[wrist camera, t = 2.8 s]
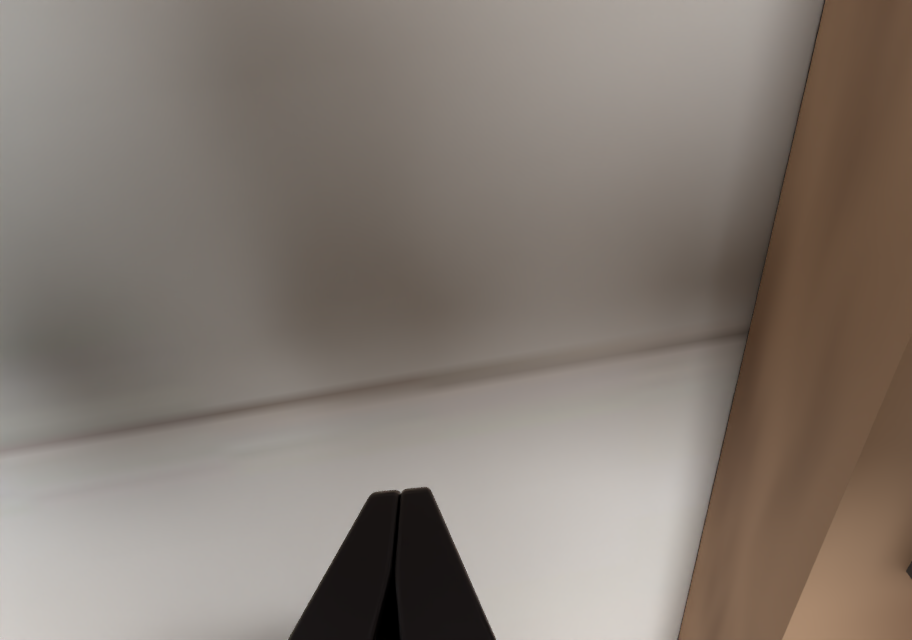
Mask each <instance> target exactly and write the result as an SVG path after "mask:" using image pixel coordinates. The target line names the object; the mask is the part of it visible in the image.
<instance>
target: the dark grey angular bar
mask: <svg viewBox="0 0 912 640" xmlns="http://www.w3.org/2000/svg"><path fill="white" fill-rule="evenodd" d="M906 572H907V574H908V575H909V576H910V578H911V579H912V561H911V563H910V565H909V567H908V568H907V570H906Z"/></svg>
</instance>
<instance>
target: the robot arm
mask: <svg viewBox="0 0 912 640" xmlns="http://www.w3.org/2000/svg"><path fill="white" fill-rule="evenodd" d="M288 640H496V638H495V636H494V634H493V631H492V629H491V627H490V625H489V622H488V620H487V618H486V615H485V613H484V611H483V608H482V606H481V604H480V602H479V599H478V597H477V595H476V592H475V590H474V588H473V586H472V583H471V581H470V579H469V576H468V574H467V572H466V569H465V567H464V565H463V563H462V560H461V558H460V556H459V553H458V551H457V549H456V546H455V544H454V542H453V540H452V537H451V535H450V533H449V530H448V528H447V526H446V524H445V521H444V519H443V517H442V514H441V512H440V510H439V507H438V505H437V503H436V501H435V498H434V496H433V494H432V492H431V490H430V489H429V488H427V487H421V488H410V489H405V490H403V491H402V493H400V491H398V490H390V491H380V492H374V493H372V494H371V495H370V496H369V498H368V499H367V501H366V503H365V504H364V506H363V508H362V510H361V512H360V513H359V515H358V517H357V519H356V520H355V522H354V524H353V526H352V527H351V529H350V531H349V533H348V535H347V536H346V538H345V540H344V542H343V543H342V545H341V547H340V549H339V550H338V552H337V554H336V556H335V557H334V559H333V561H332V563H331V565H330V566H329V568H328V570H327V572H326V573H325V575H324V577H323V579H322V580H321V582H320V584H319V586H318V588H317V589H316V591H315V593H314V595H313V596H312V598H311V600H310V602H309V603H308V605H307V607H306V609H305V610H304V612H303V614H302V616H301V618H300V619H299V621H298V623H297V625H296V626H295V628H294V630H293V632H292V633H291V635H290V637H289V639H288Z"/></svg>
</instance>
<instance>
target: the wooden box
mask: <svg viewBox="0 0 912 640" xmlns="http://www.w3.org/2000/svg"><path fill="white" fill-rule="evenodd" d="M911 561H912V0H825V5H824V9H823V13H822V18H821V22H820V26H819V31H818V35H817V39H816V44H815V48H814V52H813V57H812V61H811V65H810V70H809V74H808V78H807V83H806V87H805V92H804V96H803V100H802V105H801V109H800V113H799V118H798V122H797V126H796V131H795V135H794V139H793V144H792V148H791V152H790V157H789V161H788V165H787V170H786V174H785V178H784V183H783V187H782V191H781V196H780V200H779V204H778V209H777V213H776V217H775V222H774V226H773V230H772V235H771V239H770V243H769V248H768V252H767V256H766V261H765V265H764V269H763V274H762V278H761V282H760V287H759V291H758V295H757V300H756V304H755V308H754V313H753V317H752V321H751V326H750V330H749V334H748V339H747V343H746V347H745V352H744V356H743V361H742V365H741V369H740V374H739V378H738V382H737V387H736V391H735V395H734V400H733V404H732V408H731V413H730V417H729V421H728V426H727V430H726V434H725V439H724V443H723V447H722V452H721V456H720V460H719V465H718V469H717V473H716V478H715V482H714V486H713V491H712V495H711V499H710V504H709V508H708V512H707V517H706V521H705V525H704V530H703V534H702V538H701V543H700V547H699V551H698V556H697V560H696V564H695V569H694V573H693V577H692V582H691V586H690V590H689V595H688V599H687V603H686V608H685V612H684V617H683V621H682V625H681V630H680V634H679V638H678V640H912V579H911V578H910V576H909V575H908V574H907V572H906V570H907V568H908V567H909V565H910V563H911Z"/></svg>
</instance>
